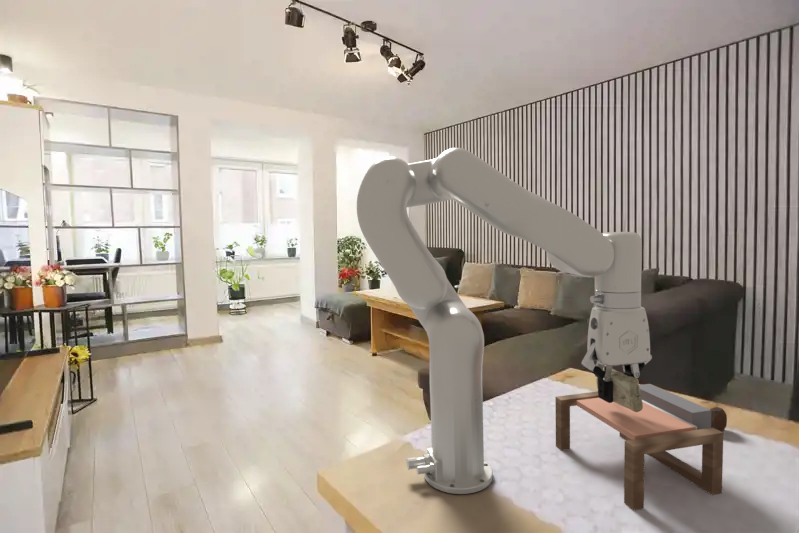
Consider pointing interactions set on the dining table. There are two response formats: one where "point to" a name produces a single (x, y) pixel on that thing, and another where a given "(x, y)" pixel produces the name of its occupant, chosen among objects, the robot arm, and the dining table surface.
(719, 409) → the bolt
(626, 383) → the cuneiform tablet
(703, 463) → the frame
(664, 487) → the dining table surface
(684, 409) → the trapdoor
